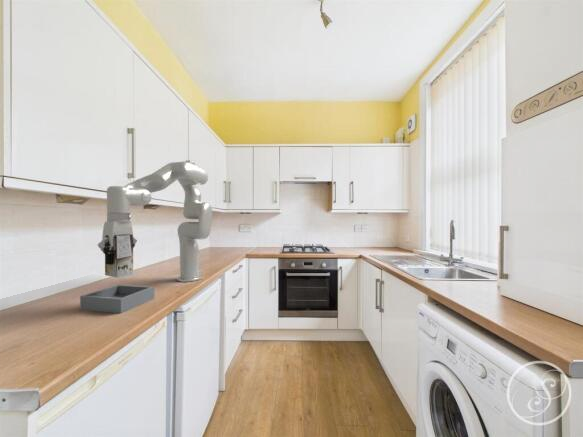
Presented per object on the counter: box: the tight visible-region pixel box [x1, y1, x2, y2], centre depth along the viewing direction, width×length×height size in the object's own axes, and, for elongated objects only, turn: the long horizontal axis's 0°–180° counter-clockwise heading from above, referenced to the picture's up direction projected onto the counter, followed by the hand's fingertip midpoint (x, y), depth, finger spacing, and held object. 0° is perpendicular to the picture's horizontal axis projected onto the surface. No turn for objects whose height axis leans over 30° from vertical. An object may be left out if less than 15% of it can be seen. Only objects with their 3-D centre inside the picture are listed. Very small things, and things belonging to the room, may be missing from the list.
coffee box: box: [104, 234, 134, 278], centre depth 98 cm, size 9×6×16 cm
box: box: [79, 284, 155, 314], centre depth 98 cm, size 16×18×5 cm
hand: (119, 262), depth 98 cm, fingers closed on coffee box, 7 cm apart
